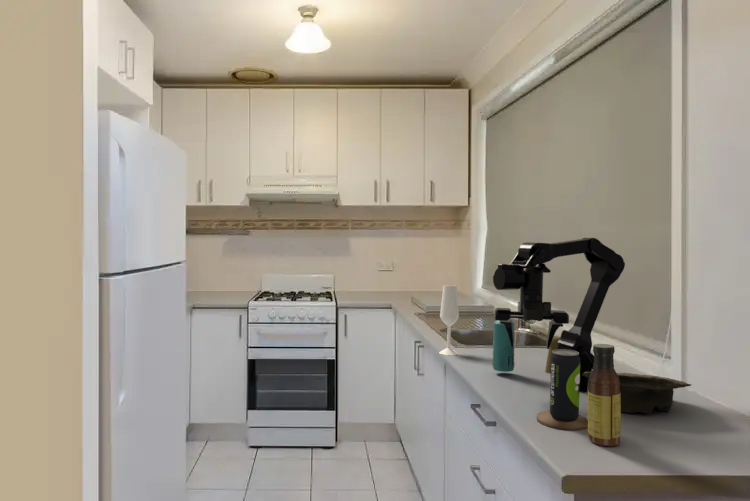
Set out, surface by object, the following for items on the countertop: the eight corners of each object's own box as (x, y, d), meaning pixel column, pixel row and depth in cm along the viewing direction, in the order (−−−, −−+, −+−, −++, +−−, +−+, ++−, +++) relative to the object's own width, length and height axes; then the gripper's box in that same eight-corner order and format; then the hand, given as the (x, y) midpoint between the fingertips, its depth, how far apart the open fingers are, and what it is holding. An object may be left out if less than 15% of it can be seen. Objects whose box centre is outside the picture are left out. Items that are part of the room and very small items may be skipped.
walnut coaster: (583, 416, 133) (583, 412, 133) (592, 431, 122) (592, 428, 122) (534, 412, 135) (534, 409, 135) (539, 427, 124) (539, 424, 124)
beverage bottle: (508, 378, 168) (509, 310, 167) (488, 374, 172) (489, 308, 171) (518, 373, 173) (519, 308, 172) (498, 370, 177) (499, 306, 176)
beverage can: (544, 414, 130) (545, 349, 130) (566, 412, 133) (568, 348, 132) (561, 423, 125) (562, 355, 124) (584, 420, 127) (586, 353, 126)
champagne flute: (455, 355, 198) (457, 286, 197) (436, 353, 200) (438, 285, 200) (460, 352, 204) (461, 285, 203) (441, 350, 207) (443, 284, 206)
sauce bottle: (612, 436, 119) (614, 342, 119) (626, 448, 113) (629, 348, 112) (581, 436, 119) (583, 342, 118) (593, 447, 113) (596, 348, 112)
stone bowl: (628, 424, 127) (626, 382, 128) (562, 400, 151) (561, 365, 152) (716, 415, 134) (715, 375, 134) (640, 394, 158) (639, 360, 158)
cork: (563, 370, 179) (564, 335, 179) (567, 374, 173) (568, 338, 173) (543, 369, 180) (544, 334, 179) (547, 374, 174) (548, 338, 173)
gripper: (496, 290, 145) (495, 351, 146) (573, 293, 142) (571, 356, 143) (495, 287, 156) (493, 343, 157) (566, 289, 153) (564, 347, 153)
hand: (529, 347), depth 152 cm, fingers open, 9 cm apart
